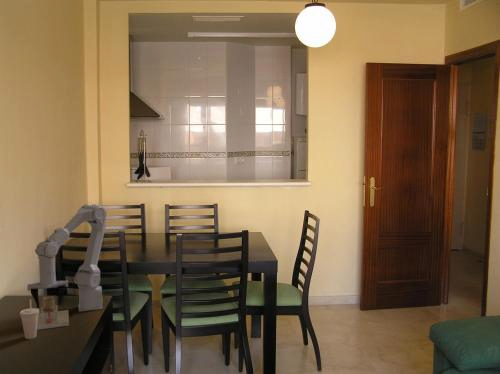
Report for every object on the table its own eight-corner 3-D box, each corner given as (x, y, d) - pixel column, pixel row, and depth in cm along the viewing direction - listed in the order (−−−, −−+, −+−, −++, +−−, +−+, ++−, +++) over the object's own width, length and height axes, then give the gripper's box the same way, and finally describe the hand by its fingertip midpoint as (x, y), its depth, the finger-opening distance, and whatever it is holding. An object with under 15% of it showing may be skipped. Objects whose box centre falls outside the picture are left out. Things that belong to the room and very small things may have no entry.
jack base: (68, 313, 191) (68, 299, 190) (68, 325, 178) (68, 310, 177) (31, 318, 185) (30, 303, 185) (28, 331, 172) (28, 315, 172)
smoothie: (32, 341, 163) (30, 302, 162) (16, 339, 165) (15, 301, 163) (44, 334, 170) (42, 297, 168) (28, 332, 171) (27, 295, 170)
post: (55, 315, 184) (54, 296, 183) (55, 319, 180) (54, 299, 179) (43, 316, 182) (43, 297, 182) (43, 320, 179) (42, 300, 178)
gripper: (26, 276, 173) (27, 311, 174) (67, 272, 179) (68, 306, 180) (27, 272, 180) (29, 305, 181) (67, 268, 185) (68, 301, 186)
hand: (48, 306), depth 181 cm, fingers open, 7 cm apart
